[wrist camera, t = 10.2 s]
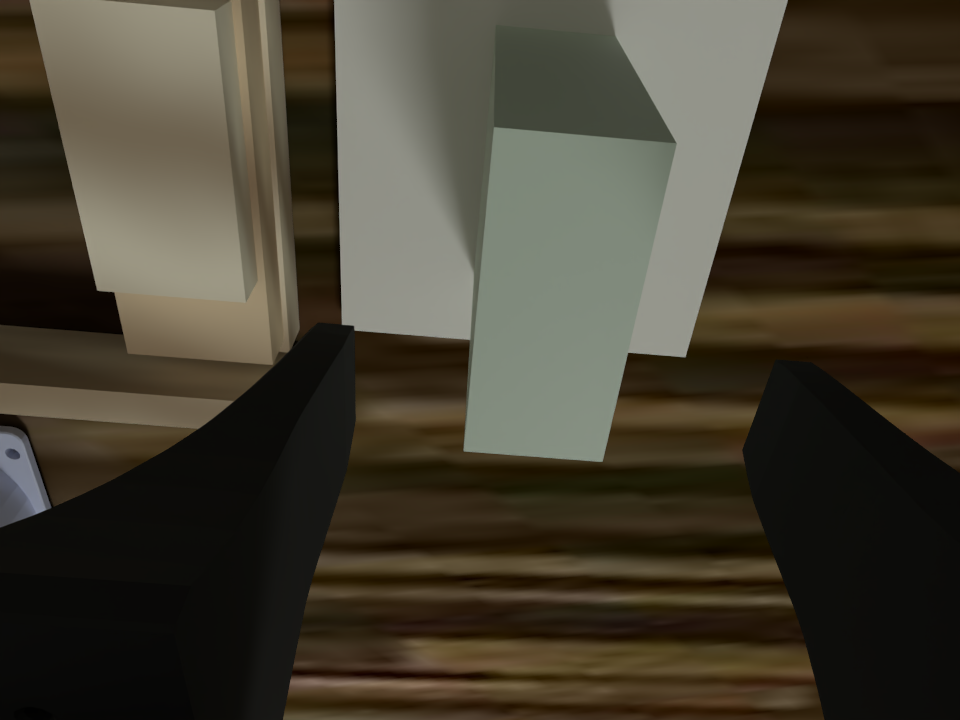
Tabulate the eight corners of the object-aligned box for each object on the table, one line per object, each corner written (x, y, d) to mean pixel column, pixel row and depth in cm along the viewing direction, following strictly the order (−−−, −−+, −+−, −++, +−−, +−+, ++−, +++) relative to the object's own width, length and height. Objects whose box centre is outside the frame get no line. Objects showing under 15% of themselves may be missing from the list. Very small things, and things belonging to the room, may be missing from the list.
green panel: (572, 281, 23) (602, 461, 16) (474, 273, 23) (463, 451, 16) (615, 35, 19) (676, 143, 12) (495, 25, 19) (494, 126, 12)
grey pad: (681, 346, 25) (685, 357, 24) (345, 319, 25) (342, 329, 24) (785, -25, 19) (793, -21, 18) (337, -68, 18) (332, -66, 18)
